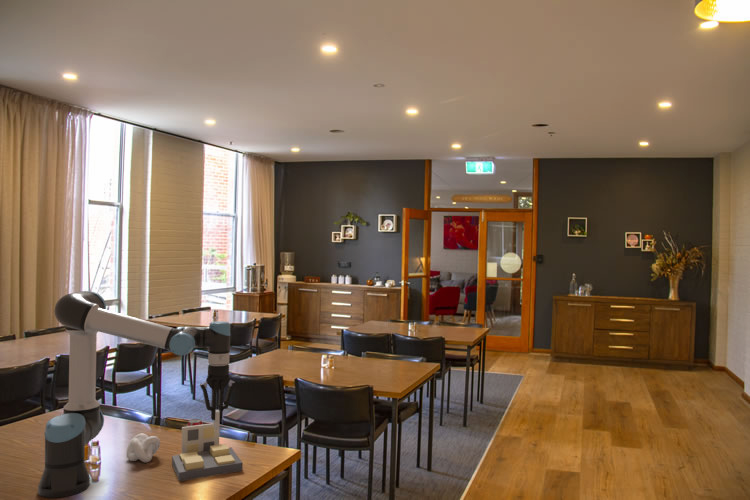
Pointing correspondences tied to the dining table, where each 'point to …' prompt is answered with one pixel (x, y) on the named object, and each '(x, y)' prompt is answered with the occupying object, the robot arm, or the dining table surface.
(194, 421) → the beverage can
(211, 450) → the button
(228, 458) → the button
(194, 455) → the button
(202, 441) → the button board
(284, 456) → the dining table surface
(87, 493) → the dining table surface
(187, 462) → the button
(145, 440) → the white knot
